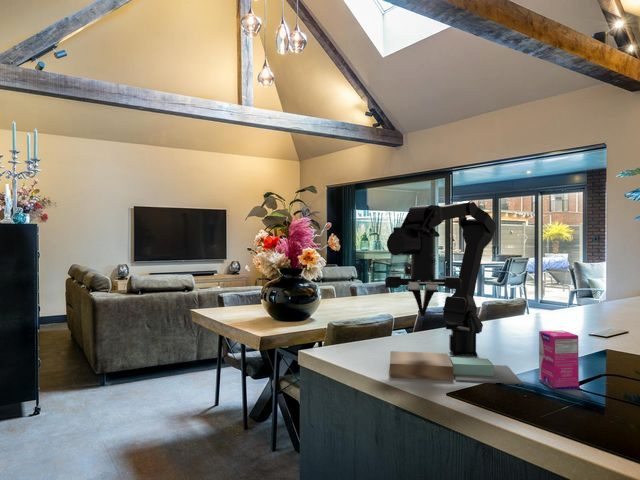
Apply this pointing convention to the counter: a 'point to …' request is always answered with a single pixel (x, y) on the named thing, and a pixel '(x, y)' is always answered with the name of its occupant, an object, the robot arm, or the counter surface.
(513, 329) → the counter surface
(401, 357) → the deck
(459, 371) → the mint green block
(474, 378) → the mat
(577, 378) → the supplement box
